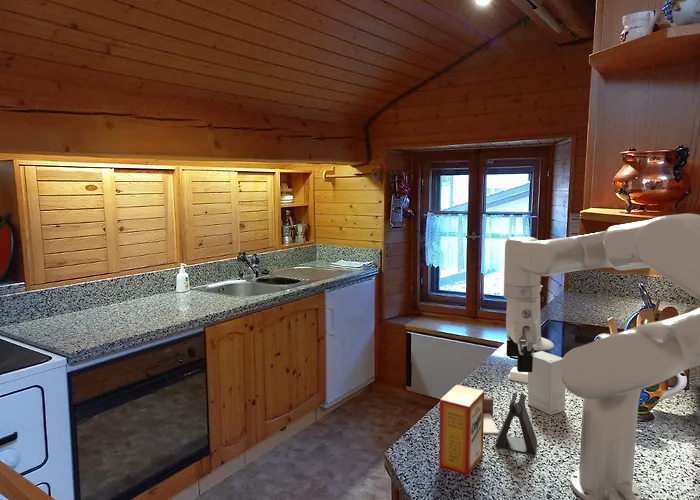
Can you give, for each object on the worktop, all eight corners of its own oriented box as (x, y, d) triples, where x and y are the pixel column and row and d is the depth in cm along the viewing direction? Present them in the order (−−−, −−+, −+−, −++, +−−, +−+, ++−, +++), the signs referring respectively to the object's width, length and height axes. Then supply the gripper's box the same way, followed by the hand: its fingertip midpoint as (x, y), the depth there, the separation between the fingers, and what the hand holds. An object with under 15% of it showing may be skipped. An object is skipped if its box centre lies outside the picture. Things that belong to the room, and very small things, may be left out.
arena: (503, 436, 121) (504, 420, 121) (462, 435, 122) (462, 420, 121) (492, 411, 134) (492, 397, 134) (454, 411, 135) (455, 397, 134)
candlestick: (542, 353, 179) (545, 271, 175) (511, 344, 188) (513, 267, 184) (560, 345, 187) (563, 267, 183) (529, 337, 197) (531, 263, 192)
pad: (498, 434, 122) (498, 432, 122) (469, 433, 123) (469, 432, 123) (489, 415, 132) (489, 413, 132) (463, 414, 133) (463, 413, 133)
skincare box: (565, 411, 134) (567, 358, 132) (549, 416, 131) (551, 362, 129) (541, 399, 141) (543, 349, 139) (525, 404, 138) (527, 353, 136)
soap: (540, 377, 157) (540, 369, 157) (536, 385, 151) (537, 376, 151) (511, 372, 162) (511, 364, 161) (506, 380, 156) (506, 371, 155)
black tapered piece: (537, 443, 118) (539, 395, 116) (535, 455, 113) (537, 405, 111) (498, 435, 122) (499, 389, 120) (494, 447, 116) (495, 399, 115)
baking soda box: (455, 447, 117) (456, 382, 114) (482, 455, 113) (484, 389, 111) (439, 466, 109) (440, 397, 107) (467, 476, 105) (469, 405, 103)
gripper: (550, 300, 103) (547, 378, 106) (527, 283, 120) (524, 351, 123) (514, 300, 104) (511, 378, 106) (495, 283, 121) (494, 350, 123)
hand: (518, 363), depth 114 cm, fingers open, 9 cm apart
